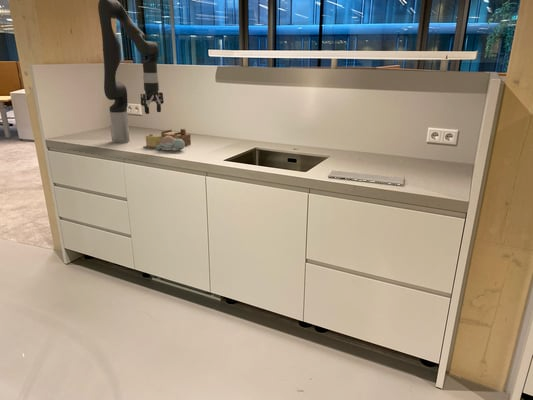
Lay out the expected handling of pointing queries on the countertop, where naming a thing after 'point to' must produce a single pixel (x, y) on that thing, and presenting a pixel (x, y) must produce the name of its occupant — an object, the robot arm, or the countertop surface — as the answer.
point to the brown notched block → (178, 135)
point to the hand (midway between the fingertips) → (153, 112)
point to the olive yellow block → (153, 140)
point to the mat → (149, 147)
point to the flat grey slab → (367, 177)
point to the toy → (171, 143)
